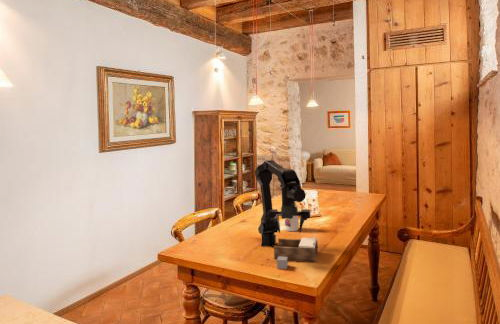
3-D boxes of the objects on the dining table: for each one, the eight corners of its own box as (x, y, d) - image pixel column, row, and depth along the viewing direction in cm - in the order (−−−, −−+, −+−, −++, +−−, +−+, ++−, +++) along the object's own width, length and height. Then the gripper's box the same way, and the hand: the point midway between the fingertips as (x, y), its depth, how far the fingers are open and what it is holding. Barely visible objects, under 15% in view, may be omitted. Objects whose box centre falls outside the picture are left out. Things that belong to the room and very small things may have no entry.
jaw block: (277, 268, 158) (276, 259, 158) (278, 265, 162) (278, 256, 162) (286, 269, 157) (286, 260, 157) (287, 265, 161) (287, 256, 161)
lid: (298, 247, 165) (298, 243, 165) (301, 239, 176) (301, 235, 176) (314, 248, 163) (314, 244, 163) (316, 239, 175) (316, 235, 174)
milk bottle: (297, 227, 215) (296, 193, 213) (299, 231, 208) (298, 196, 205) (284, 227, 215) (283, 194, 213) (286, 232, 208) (284, 196, 205)
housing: (274, 259, 169) (273, 247, 168) (279, 249, 180) (278, 238, 180) (315, 261, 164) (315, 249, 163) (317, 252, 175) (317, 240, 175)
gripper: (264, 202, 159) (265, 237, 160) (308, 202, 155) (309, 238, 156) (268, 197, 170) (270, 230, 171) (310, 196, 165) (311, 231, 167)
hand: (289, 232), depth 166 cm, fingers open, 9 cm apart
